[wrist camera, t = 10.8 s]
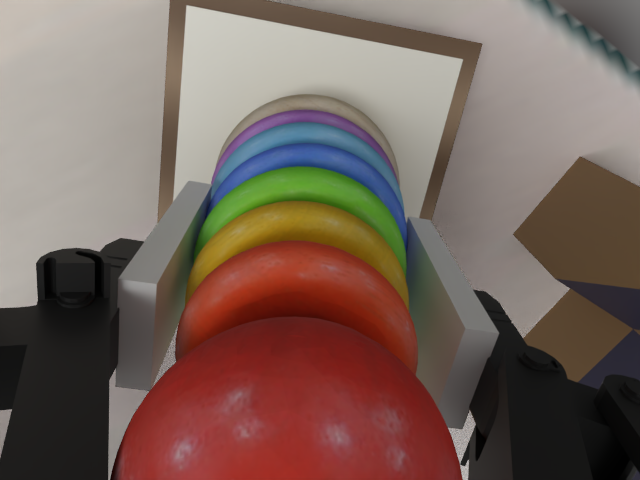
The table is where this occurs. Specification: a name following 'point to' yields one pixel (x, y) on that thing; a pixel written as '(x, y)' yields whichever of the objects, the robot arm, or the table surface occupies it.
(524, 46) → the table surface
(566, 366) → the toy building blocks
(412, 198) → the base block
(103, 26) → the table surface
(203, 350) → the stacking toy
